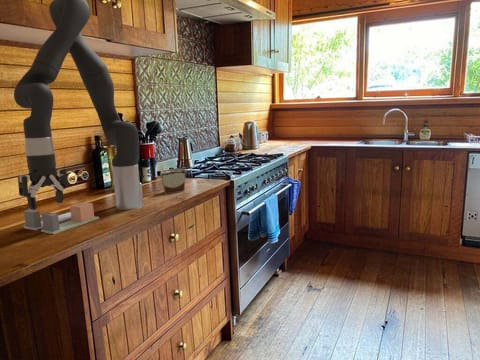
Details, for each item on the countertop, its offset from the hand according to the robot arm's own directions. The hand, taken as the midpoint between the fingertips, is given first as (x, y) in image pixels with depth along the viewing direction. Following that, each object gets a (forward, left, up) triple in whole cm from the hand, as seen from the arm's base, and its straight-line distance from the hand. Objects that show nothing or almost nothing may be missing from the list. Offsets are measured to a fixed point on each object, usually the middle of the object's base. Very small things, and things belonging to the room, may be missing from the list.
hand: (46, 205), depth 112 cm
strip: (-7, -9, -8) cm, 14 cm away
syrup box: (-57, -29, -10) cm, 64 cm away
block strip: (-7, 0, -8) cm, 11 cm away
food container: (-63, -3, -10) cm, 64 cm away
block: (-12, 0, -8) cm, 14 cm away
